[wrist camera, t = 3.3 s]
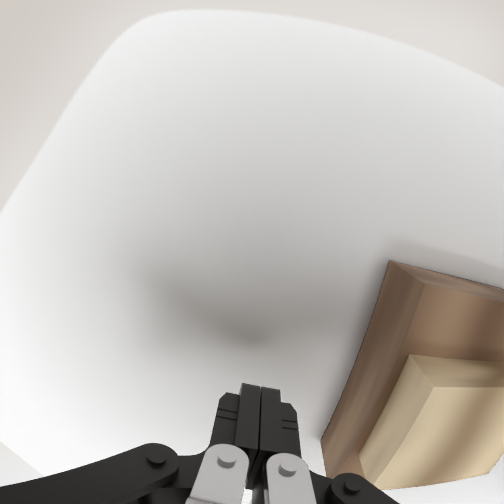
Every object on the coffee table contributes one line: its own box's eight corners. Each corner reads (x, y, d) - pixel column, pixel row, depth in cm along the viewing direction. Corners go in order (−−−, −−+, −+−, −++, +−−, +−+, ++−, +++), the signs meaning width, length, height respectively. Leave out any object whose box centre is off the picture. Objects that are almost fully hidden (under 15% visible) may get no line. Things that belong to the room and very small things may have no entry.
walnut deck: (523, 294, 15) (562, 315, 11) (452, 441, 17) (472, 474, 13) (389, 260, 15) (424, 283, 11) (320, 441, 17) (328, 487, 13)
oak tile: (520, 362, 12) (546, 384, 9) (471, 447, 13) (488, 473, 10) (409, 354, 12) (433, 386, 9) (358, 454, 13) (368, 490, 10)
